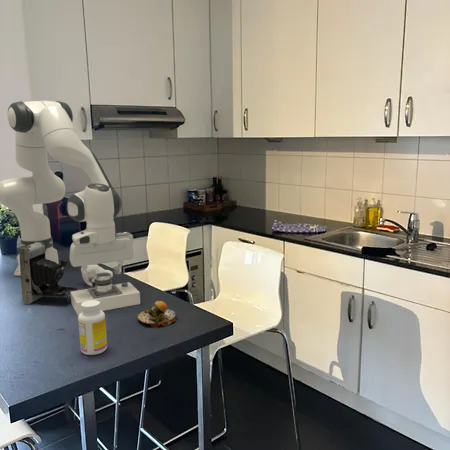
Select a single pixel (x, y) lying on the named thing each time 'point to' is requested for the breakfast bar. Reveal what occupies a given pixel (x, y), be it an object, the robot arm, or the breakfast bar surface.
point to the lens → (103, 283)
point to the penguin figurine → (93, 273)
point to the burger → (158, 315)
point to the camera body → (107, 297)
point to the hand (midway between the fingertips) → (103, 275)
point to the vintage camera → (40, 274)
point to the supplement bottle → (92, 328)
